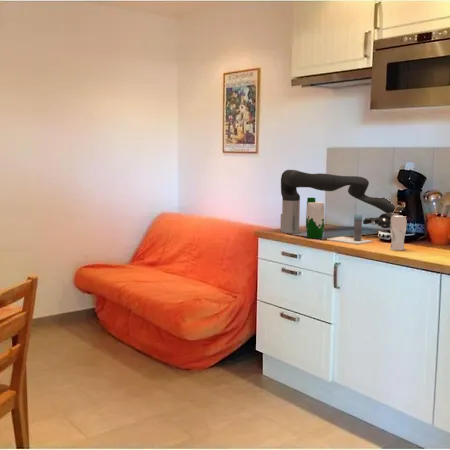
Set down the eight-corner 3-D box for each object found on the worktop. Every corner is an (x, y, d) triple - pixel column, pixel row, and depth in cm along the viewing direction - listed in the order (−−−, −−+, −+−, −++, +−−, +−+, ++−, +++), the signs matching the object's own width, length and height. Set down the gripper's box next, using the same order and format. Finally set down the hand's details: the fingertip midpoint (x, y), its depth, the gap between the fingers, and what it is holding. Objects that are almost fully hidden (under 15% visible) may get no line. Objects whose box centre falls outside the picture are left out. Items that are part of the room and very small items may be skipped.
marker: (351, 240, 278) (352, 214, 276) (356, 239, 281) (357, 214, 279) (358, 241, 275) (359, 215, 274) (363, 240, 278) (363, 214, 276)
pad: (326, 240, 283) (326, 238, 283) (341, 237, 291) (341, 236, 291) (357, 244, 270) (357, 243, 270) (372, 241, 278) (372, 240, 278)
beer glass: (390, 247, 262) (391, 214, 260) (406, 248, 260) (407, 215, 258) (388, 250, 256) (389, 216, 254) (404, 251, 253) (406, 217, 251)
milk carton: (305, 235, 296) (306, 197, 293) (323, 236, 295) (324, 197, 292) (306, 238, 287) (307, 198, 284) (324, 238, 286) (325, 198, 284)
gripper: (377, 211, 300) (359, 214, 289) (402, 214, 289) (384, 216, 278) (377, 226, 301) (358, 229, 290) (401, 229, 290) (383, 232, 279)
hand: (371, 222), depth 284 cm, fingers open, 8 cm apart
